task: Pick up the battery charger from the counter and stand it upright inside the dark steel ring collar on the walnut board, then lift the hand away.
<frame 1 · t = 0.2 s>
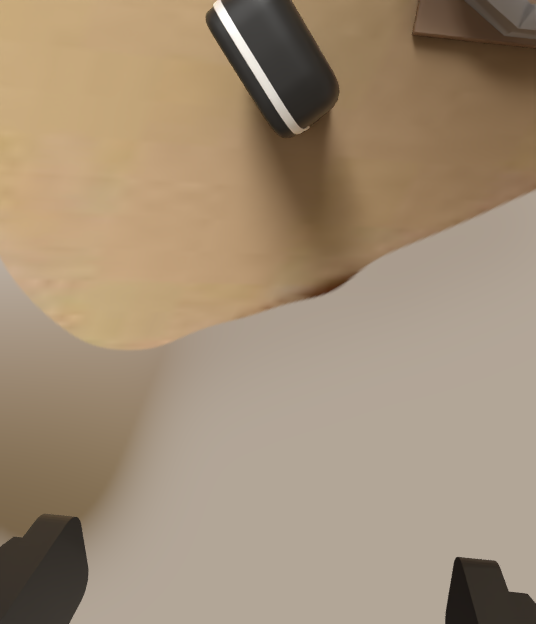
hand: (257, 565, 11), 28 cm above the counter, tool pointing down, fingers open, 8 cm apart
battery charger: (293, 74, 33), on the counter
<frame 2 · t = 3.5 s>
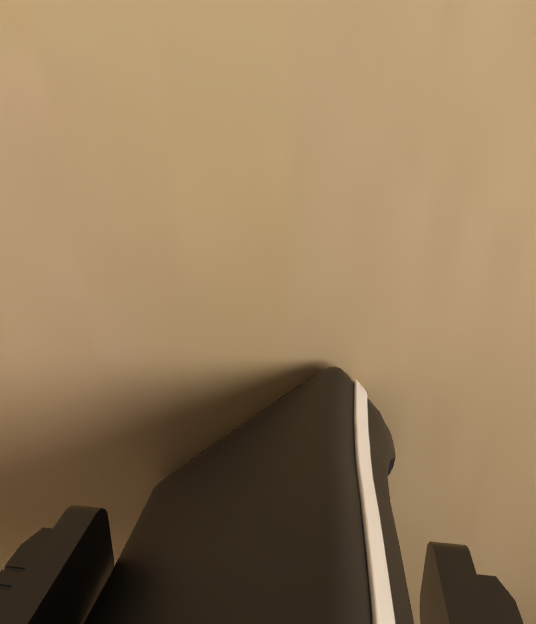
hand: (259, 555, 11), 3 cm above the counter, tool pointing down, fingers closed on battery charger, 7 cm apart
battery charger: (285, 466, 14), on the counter, touching gripper
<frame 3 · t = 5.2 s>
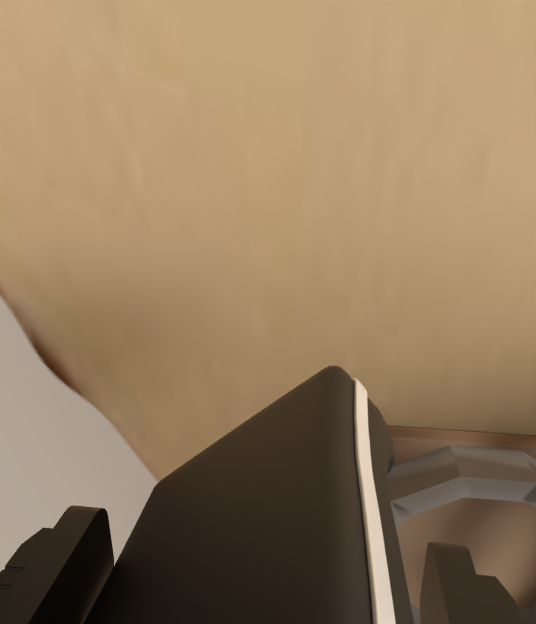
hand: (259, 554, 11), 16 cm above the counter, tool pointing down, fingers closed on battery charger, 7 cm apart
battery charger: (285, 464, 14), point 13 cm above the counter, touching gripper
ring collar: (462, 533, 30), on the counter
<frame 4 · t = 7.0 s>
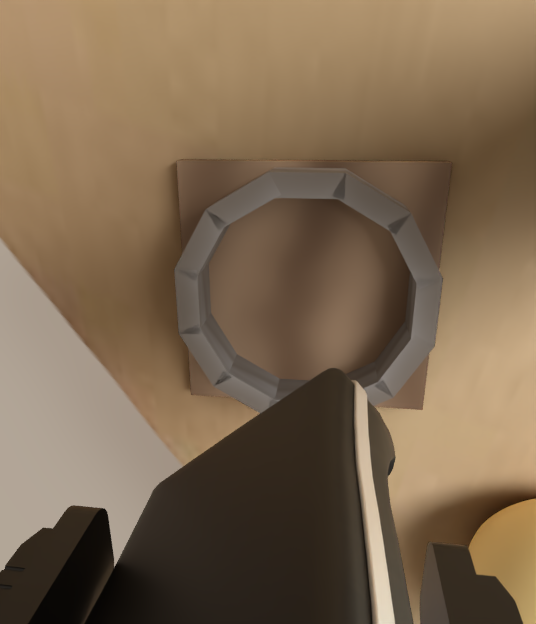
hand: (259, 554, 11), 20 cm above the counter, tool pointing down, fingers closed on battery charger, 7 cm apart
battery charger: (284, 467, 14), point 16 cm above the counter, touching gripper
ring collar: (307, 286, 29), on the counter
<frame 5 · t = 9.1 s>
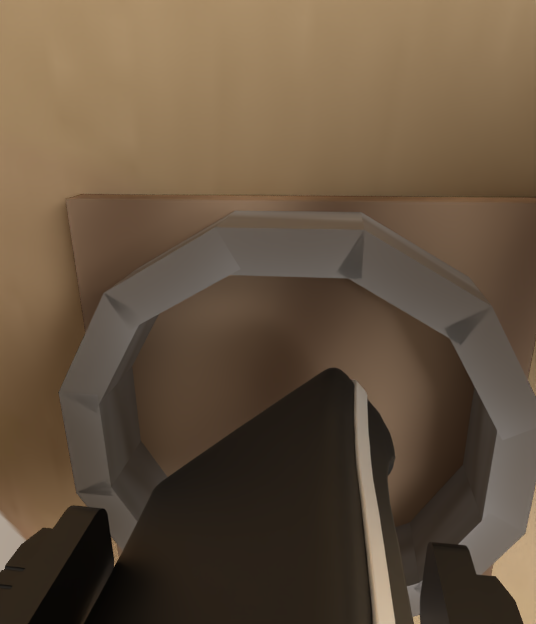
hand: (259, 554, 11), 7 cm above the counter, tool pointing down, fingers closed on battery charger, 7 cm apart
battery charger: (284, 466, 14), point 4 cm above the counter, touching gripper
ring collar: (297, 399, 18), on the counter
when the fingers open (5 cm above the counter, at t = 10.7 s): battery charger stays where it is, resting on ring collar.
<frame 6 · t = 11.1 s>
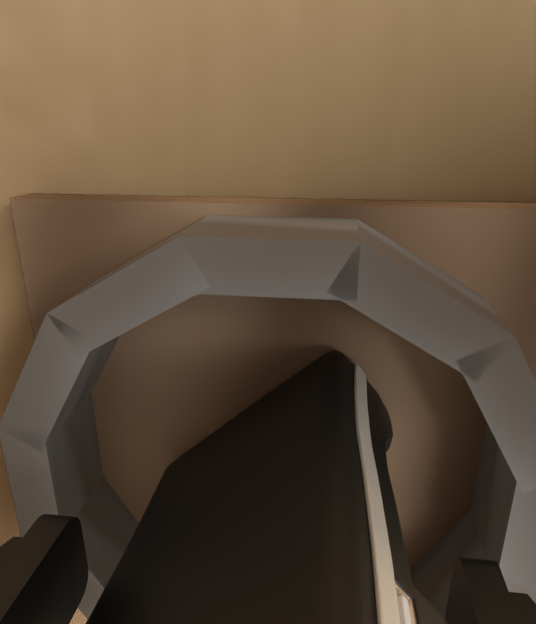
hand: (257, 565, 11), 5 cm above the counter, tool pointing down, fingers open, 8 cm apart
battery charger: (289, 446, 15), point 1 cm above the counter, touching ring collar
ring collar: (282, 430, 16), on the counter
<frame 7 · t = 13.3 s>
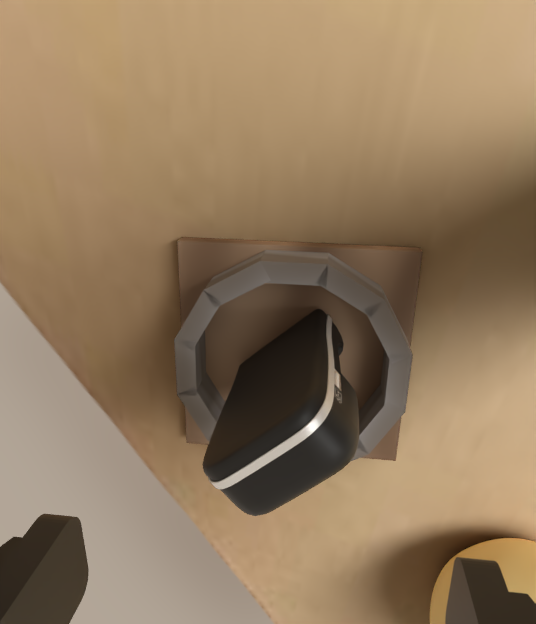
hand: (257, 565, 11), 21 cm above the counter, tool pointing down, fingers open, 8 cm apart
battery charger: (297, 355, 32), point 1 cm above the counter, touching ring collar
ring collar: (293, 350, 32), on the counter
sculpture: (504, 574, 37), on the counter
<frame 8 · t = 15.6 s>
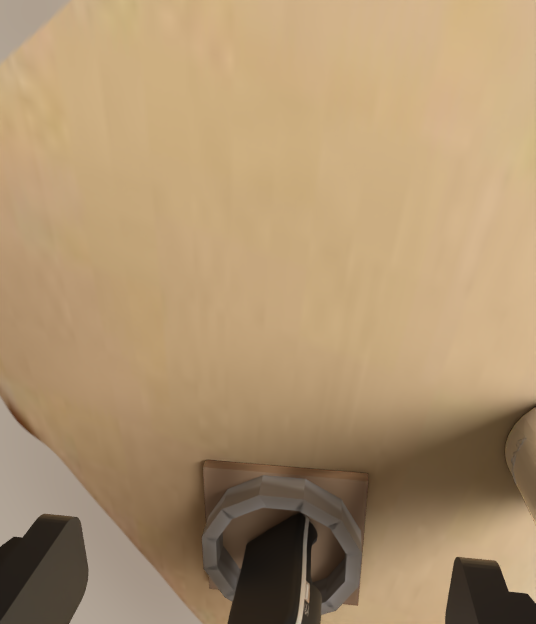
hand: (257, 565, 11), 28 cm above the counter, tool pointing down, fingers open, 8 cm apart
battery charger: (286, 537, 46), point 1 cm above the counter, touching ring collar
ring collar: (284, 530, 46), on the counter
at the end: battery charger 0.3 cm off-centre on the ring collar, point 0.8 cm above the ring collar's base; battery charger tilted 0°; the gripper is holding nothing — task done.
